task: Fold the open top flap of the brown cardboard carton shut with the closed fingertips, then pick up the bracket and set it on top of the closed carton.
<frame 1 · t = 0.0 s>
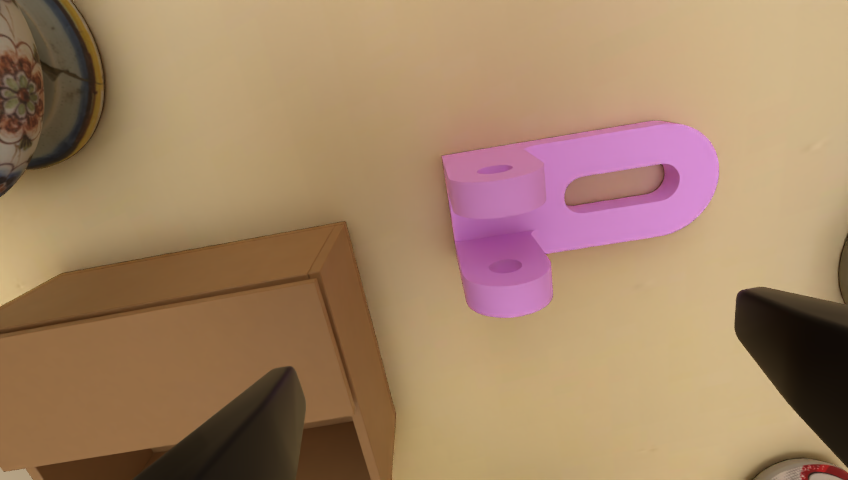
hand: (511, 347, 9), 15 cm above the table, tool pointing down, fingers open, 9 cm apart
carton: (240, 349, 26), on the table
bracket: (572, 187, 23), on the table
apothecary jar: (0, 62, 21), on the table
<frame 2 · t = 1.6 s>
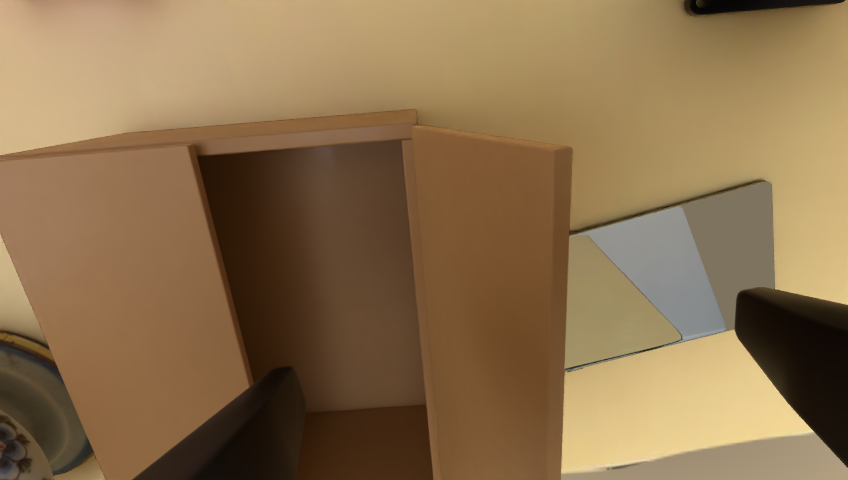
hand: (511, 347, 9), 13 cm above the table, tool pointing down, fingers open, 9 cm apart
smartphone: (607, 292, 23), on the table
carton: (300, 284, 22), on the table
flap: (481, 417, 13), point 10 cm above the table, hinge at 111.9°
apothecary jar: (17, 404, 25), on the table
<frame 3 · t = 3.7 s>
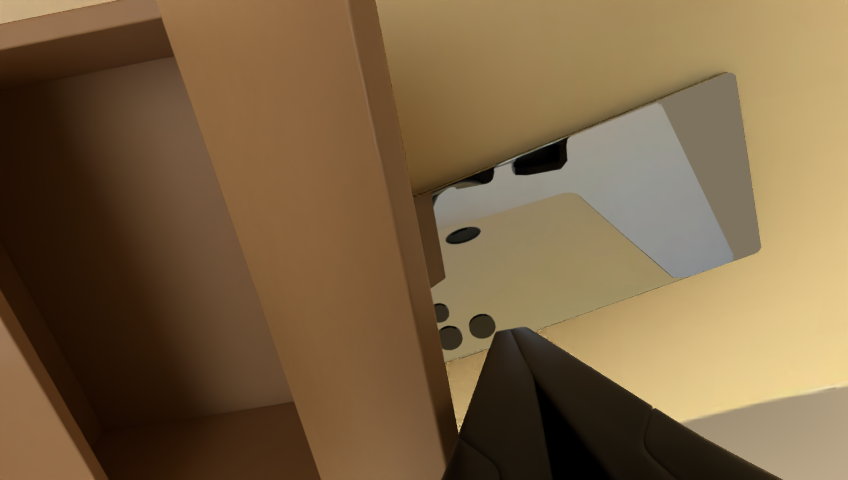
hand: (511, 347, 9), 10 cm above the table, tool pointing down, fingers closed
smartphone: (547, 238, 18), on the table
carton: (174, 261, 18), on the table
flap: (342, 370, 9), point 10 cm above the table, hinge at 131.8°, touching gripper
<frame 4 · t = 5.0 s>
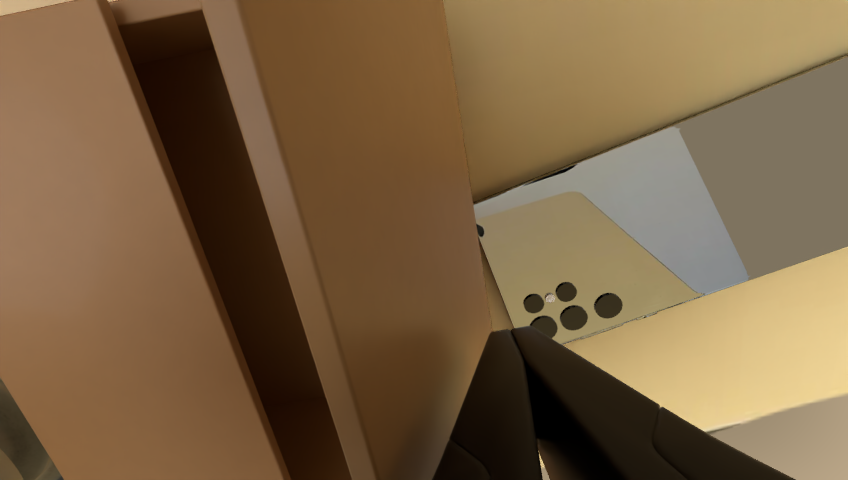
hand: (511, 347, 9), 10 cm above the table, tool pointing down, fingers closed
smartphone: (680, 214, 18), on the table
carton: (301, 239, 18), on the table
flap: (446, 374, 8), point 10 cm above the table, hinge at 71.1°, touching gripper
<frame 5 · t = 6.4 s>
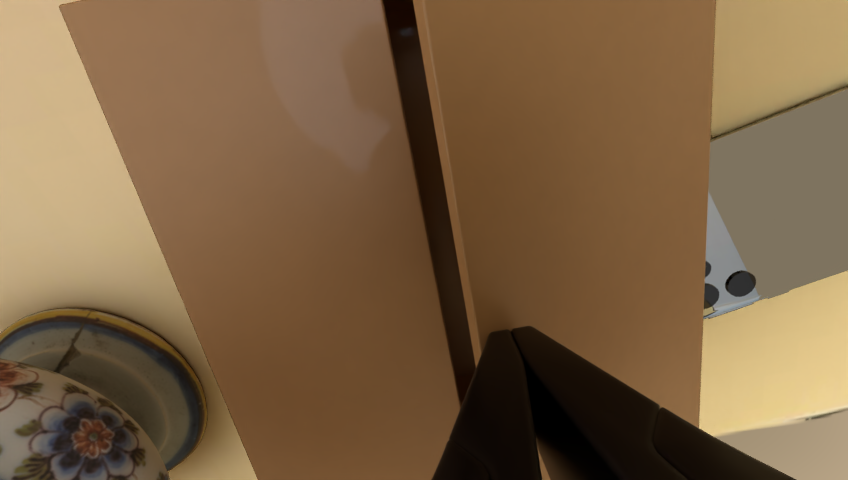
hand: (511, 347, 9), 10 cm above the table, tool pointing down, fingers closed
smartphone: (820, 190, 18), on the table
carton: (434, 216, 18), on the table
flap: (598, 297, 10), point 8 cm above the table, hinge at 22.1°, touching gripper
apothecary jar: (105, 396, 21), on the table
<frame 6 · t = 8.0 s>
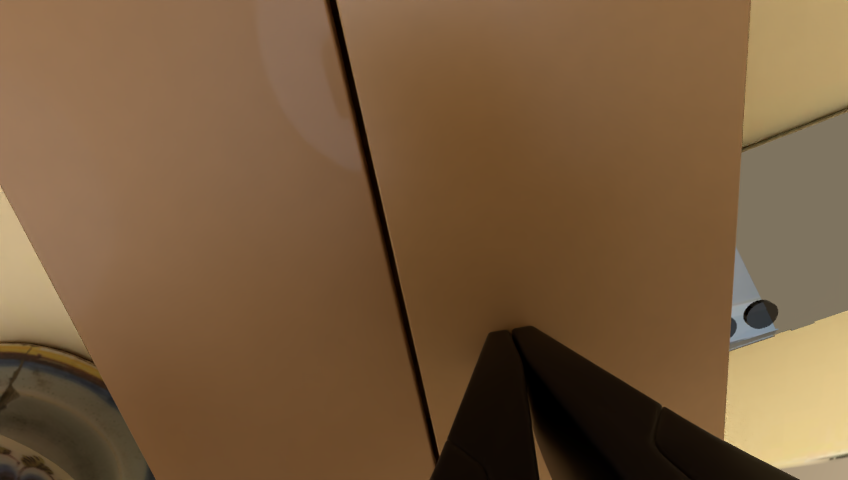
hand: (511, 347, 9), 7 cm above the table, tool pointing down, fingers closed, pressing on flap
carton: (416, 240, 16), on the table
flap: (569, 332, 9), point 7 cm above the table, hinge at 0.5°, touching gripper
apothecary jar: (54, 436, 19), on the table
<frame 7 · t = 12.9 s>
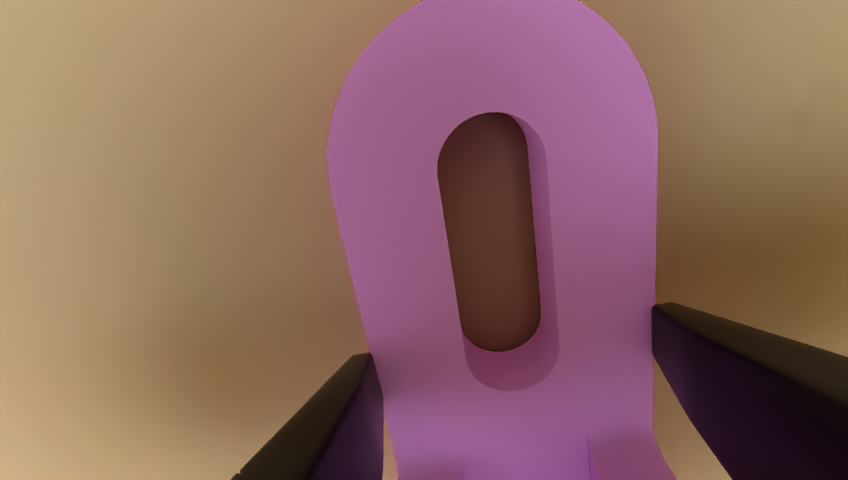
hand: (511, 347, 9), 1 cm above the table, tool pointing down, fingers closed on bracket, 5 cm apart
bracket: (498, 312, 10), on the table, touching gripper
when the fingers open (9 cm above the table, at t = 17.6 s): bracket stays where it is, resting on carton, flap.
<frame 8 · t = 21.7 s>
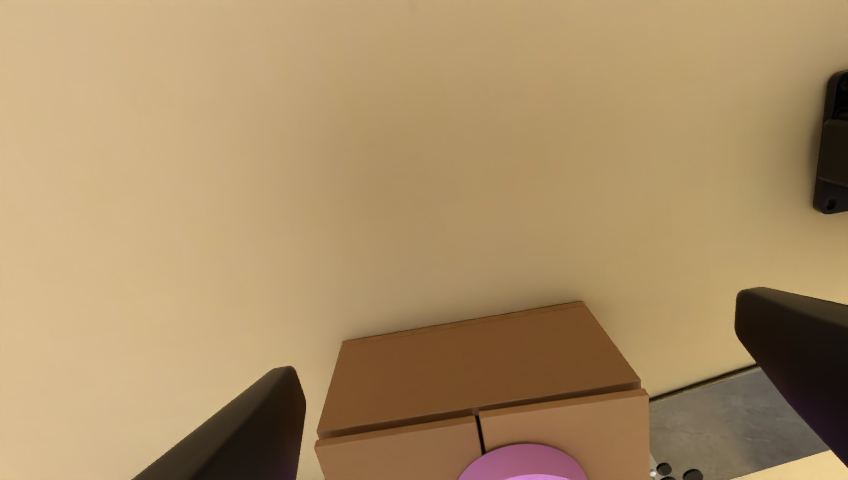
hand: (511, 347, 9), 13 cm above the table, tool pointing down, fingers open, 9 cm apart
smartphone: (745, 419, 26), on the table
carton: (481, 436, 26), on the table
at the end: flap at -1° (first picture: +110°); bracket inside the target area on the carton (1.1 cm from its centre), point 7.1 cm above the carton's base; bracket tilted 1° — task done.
